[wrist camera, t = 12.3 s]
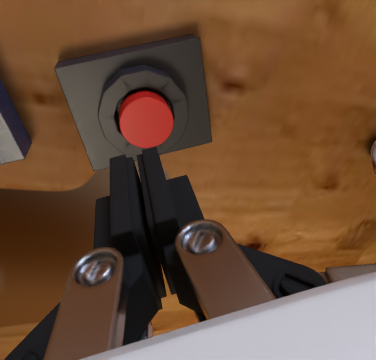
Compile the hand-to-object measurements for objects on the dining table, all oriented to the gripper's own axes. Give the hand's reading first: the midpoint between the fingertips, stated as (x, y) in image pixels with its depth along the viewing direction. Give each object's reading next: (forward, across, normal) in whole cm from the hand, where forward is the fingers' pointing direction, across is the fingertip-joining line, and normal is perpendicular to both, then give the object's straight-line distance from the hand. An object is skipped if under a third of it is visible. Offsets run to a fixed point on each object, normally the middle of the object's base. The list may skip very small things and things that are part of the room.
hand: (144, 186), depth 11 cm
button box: (+18, -1, +3) cm, 18 cm away
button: (+14, -1, +3) cm, 14 cm away
